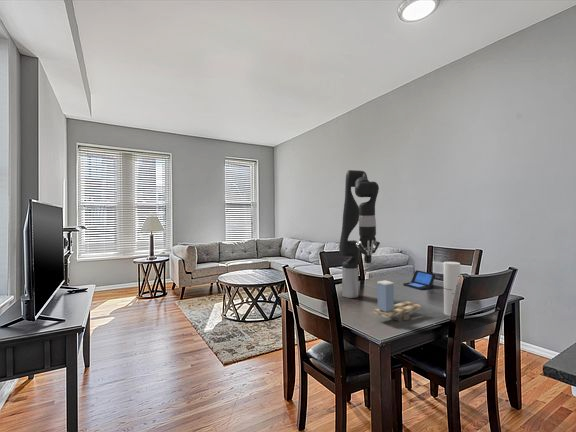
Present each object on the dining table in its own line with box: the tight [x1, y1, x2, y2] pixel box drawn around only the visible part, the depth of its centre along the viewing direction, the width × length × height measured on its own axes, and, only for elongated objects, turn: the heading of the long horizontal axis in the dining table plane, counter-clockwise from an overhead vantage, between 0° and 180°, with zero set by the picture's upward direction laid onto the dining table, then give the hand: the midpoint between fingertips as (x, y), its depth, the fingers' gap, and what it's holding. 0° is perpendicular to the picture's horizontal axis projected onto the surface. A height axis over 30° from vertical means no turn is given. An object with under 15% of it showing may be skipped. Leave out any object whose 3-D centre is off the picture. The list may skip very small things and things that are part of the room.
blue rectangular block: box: [376, 280, 395, 312], centre depth 140 cm, size 5×5×14 cm
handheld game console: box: [402, 270, 436, 291], centre depth 201 cm, size 16×13×9 cm
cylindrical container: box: [442, 261, 461, 317], centre depth 148 cm, size 7×7×25 cm
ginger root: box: [372, 300, 422, 323], centre depth 144 cm, size 24×8×5 cm, turn 120°
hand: (368, 262), depth 140 cm, fingers closed
